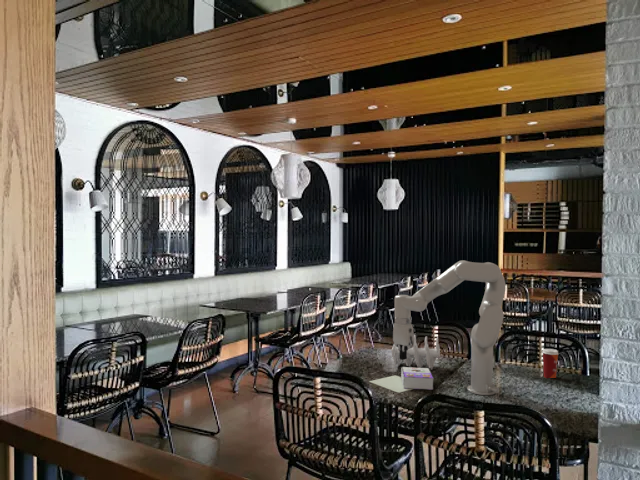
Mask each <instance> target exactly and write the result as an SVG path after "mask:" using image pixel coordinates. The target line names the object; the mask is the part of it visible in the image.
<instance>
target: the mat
mask: <svg viewBox="0 0 640 480" xmlns="http://www.w3.org/2000/svg"><path fill="white" fill-rule="evenodd" d="M368 383H371V384H374V385H376V386H378V387H382V388H383V389H387V390H389V391H392V392H395V393H397V394H401V393H405V392H408V391H412V390H413V389H408V388H403V383H402V379H401V376H398V375H391V376H385V377H381V378H377V379H375V380H374V379H373V380H369V381H368Z"/></svg>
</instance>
